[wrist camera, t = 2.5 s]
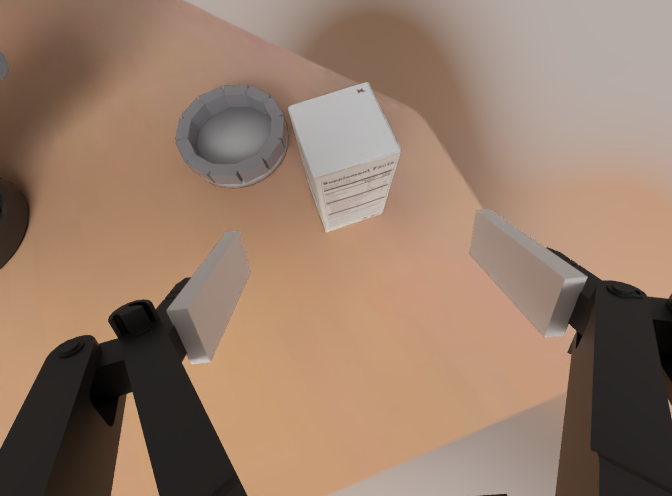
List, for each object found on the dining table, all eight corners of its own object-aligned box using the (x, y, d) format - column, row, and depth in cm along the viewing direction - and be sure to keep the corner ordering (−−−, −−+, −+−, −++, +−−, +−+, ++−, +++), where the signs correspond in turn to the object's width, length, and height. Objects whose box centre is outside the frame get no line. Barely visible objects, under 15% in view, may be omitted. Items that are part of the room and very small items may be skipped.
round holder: (169, 160, 37) (154, 145, 34) (229, 90, 40) (220, 71, 37) (250, 205, 34) (241, 194, 32) (307, 127, 37) (303, 110, 35)
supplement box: (306, 182, 35) (284, 102, 23) (362, 164, 35) (370, 77, 23) (324, 235, 33) (310, 178, 21) (384, 215, 33) (405, 149, 21)
